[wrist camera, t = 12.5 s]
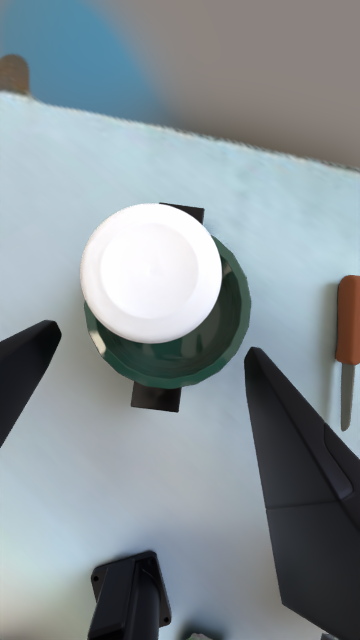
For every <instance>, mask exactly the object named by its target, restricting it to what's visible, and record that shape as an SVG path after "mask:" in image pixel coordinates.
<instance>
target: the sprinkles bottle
mask: <svg viewBox="0 0 360 640" xmlns="http://www.w3.org/2000/svg"><path fill="white" fill-rule="evenodd" d="M221 280H222V268H221V260H220V257H219V253H218V250H217V247H216V245H215V243H214V241H213V239H212V237H211V236H210V234H209V233H208V232H207V230H206V229H205V228H204V227H203V226H202V225H201V224H200V223H199V222H198V221H197V220H196V219H195V218H193V217H192V216H190V215H189V214H187V213H185V212H183V211H182V210H179V209H177V208H174V207H171V206H168V205H163V204H152V203H151V204H139V205H134V206H131V207H128V208H125V209H122V210H120V211H118V212H116V213H114V214H113V215H111V216H110V217H108V218H107V219H106V220H105V221H103V222H102V223H101V224H100V225H99V226H98V227H97V228H96V230H95V231H94V232H93V234H92V235H91V237H90V239H89V240H88V242H87V244H86V247H85V249H84V252H83V255H82V259H81V267H80V281H81V287H82V291H83V294H84V297H85V300H86V302H87V304H88V306H89V308H90V309H91V311H92V313H93V314H94V315H95V317H96V318H97V319H98V320H99V321H100V322H101V323H102V324H103V325H104V326H105V327H106V328H107V329H109V330H110V331H112V332H113V333H115V334H117V335H119V336H121V337H123V338H125V339H128V340H131V341H135V342H140V343H163V342H168V341H172V340H175V339H178V338H180V337H182V336H184V335H186V334H188V333H189V332H191V331H192V330H194V329H195V328H196V327H197V326H199V325H200V324H201V323H202V322H203V321H204V319H205V318H206V317H207V316H208V314H209V313H210V312H211V310H212V308H213V307H214V305H215V302H216V300H217V297H218V294H219V292H220V287H221Z"/></svg>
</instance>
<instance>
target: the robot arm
mask: <svg viewBox="0 0 360 640" xmlns="http://www.w3.org/2000/svg"><path fill="white" fill-rule="evenodd" d="M61 336H62V334H61V331H60V329H59V327H58V325H57V323H56V322H55V321H51V320H44V321H42V322H39V323H37V324H35V325H33V326H31V327H29V328H27V329H25V330H23V331H21V332H19V333H17V334H15V335H13V336H11V337H9V338H7V339H5V340H3V341H1V342H0V448H1V446H2V444H3V443H4V441H5V439H6V438H7V436H8V434H9V433H10V431H11V429H12V428H13V426H14V424H15V422H16V421H17V419H18V417H19V416H20V414H21V412H22V411H23V409H24V407H25V405H26V404H27V402H28V400H29V399H30V397H31V395H32V394H33V392H34V390H35V388H36V387H37V385H38V383H39V382H40V380H41V378H42V377H43V375H44V373H45V371H46V370H47V368H48V366H49V364H50V362H51V360H52V357H53V355H54V353H55V351H56V348H57V346H58V344H59V342H60V340H61ZM244 369H245V387H246V397H247V403H248V409H249V414H250V420H251V426H252V432H253V438H254V444H255V449H256V455H257V461H258V467H259V473H260V479H261V485H262V490H263V496H264V502H265V508H266V514H267V520H268V526H269V532H270V538H271V544H272V550H273V555H274V561H275V567H276V573H277V579H278V585H279V591H280V596H281V601H282V604H283V605H284V606H286V607H287V608H289V609H291V610H292V611H294V612H295V613H297V614H299V615H300V616H302V617H303V618H305V619H307V620H308V621H310V622H311V623H313V624H315V625H316V626H318V627H319V628H321V629H323V630H324V631H326V632H327V633H329V634H324V633H322V637H321V640H360V459H359V458H358V457H357V456H356V455H355V454H354V453H353V452H352V451H351V450H350V449H349V448H348V447H347V446H346V445H345V443H344V442H343V441H342V440H341V439H340V438H339V437H338V436H337V435H336V433H335V432H334V431H333V430H332V429H331V428H330V427H329V425H328V424H327V423H325V422H324V420H323V419H322V418H321V416H320V415H319V414H318V413H317V412H316V411H315V410H314V408H313V407H312V406H311V405H310V404H309V403H308V402H307V400H306V399H305V398H304V397H303V396H302V395H301V394H300V392H299V391H298V390H297V389H296V388H295V387H294V386H293V384H292V383H291V382H290V381H289V380H288V379H287V378H286V376H285V375H284V374H283V373H282V372H281V371H280V370H279V368H278V367H277V366H276V365H275V364H274V363H273V362H272V360H271V359H270V358H269V357H268V356H267V355H266V354H265V352H264V351H263V350H262V349H261V348H257V347H251V348H250V349H249V351H248V353H247V354H246V356H245V359H244ZM91 582H92V586H93V590H94V595H95V599H96V603H97V605H96V608H95V611H94V615H93V618H92V622H91V625H90V628H89V632H88V638H87V640H158V636H159V628H160V627H163V626H167V625H169V624H170V623H171V616H172V613H171V608H170V604H169V601H168V597H167V593H166V589H165V585H164V581H163V577H162V573H161V570H160V566H159V562H158V558H157V554H156V553H155V552H153V551H150V552H147V553H144V554H140V555H137V556H134V557H131V558H127V559H124V560H121V561H118V562H114V563H111V564H108V565H105V566H101V567H98V568H96V569H94V570H93V573H92V576H91Z"/></svg>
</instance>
